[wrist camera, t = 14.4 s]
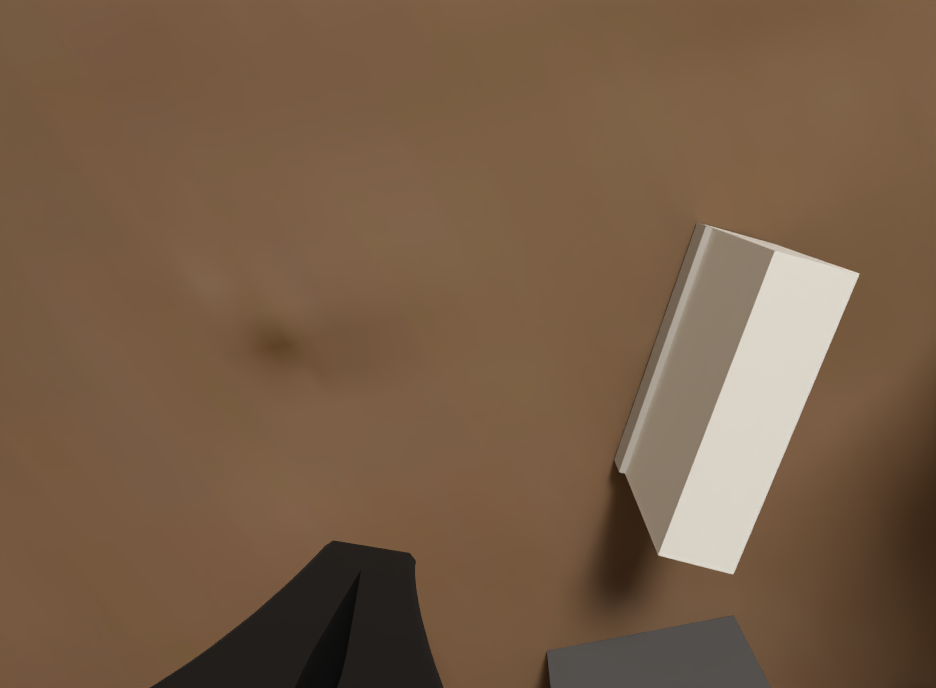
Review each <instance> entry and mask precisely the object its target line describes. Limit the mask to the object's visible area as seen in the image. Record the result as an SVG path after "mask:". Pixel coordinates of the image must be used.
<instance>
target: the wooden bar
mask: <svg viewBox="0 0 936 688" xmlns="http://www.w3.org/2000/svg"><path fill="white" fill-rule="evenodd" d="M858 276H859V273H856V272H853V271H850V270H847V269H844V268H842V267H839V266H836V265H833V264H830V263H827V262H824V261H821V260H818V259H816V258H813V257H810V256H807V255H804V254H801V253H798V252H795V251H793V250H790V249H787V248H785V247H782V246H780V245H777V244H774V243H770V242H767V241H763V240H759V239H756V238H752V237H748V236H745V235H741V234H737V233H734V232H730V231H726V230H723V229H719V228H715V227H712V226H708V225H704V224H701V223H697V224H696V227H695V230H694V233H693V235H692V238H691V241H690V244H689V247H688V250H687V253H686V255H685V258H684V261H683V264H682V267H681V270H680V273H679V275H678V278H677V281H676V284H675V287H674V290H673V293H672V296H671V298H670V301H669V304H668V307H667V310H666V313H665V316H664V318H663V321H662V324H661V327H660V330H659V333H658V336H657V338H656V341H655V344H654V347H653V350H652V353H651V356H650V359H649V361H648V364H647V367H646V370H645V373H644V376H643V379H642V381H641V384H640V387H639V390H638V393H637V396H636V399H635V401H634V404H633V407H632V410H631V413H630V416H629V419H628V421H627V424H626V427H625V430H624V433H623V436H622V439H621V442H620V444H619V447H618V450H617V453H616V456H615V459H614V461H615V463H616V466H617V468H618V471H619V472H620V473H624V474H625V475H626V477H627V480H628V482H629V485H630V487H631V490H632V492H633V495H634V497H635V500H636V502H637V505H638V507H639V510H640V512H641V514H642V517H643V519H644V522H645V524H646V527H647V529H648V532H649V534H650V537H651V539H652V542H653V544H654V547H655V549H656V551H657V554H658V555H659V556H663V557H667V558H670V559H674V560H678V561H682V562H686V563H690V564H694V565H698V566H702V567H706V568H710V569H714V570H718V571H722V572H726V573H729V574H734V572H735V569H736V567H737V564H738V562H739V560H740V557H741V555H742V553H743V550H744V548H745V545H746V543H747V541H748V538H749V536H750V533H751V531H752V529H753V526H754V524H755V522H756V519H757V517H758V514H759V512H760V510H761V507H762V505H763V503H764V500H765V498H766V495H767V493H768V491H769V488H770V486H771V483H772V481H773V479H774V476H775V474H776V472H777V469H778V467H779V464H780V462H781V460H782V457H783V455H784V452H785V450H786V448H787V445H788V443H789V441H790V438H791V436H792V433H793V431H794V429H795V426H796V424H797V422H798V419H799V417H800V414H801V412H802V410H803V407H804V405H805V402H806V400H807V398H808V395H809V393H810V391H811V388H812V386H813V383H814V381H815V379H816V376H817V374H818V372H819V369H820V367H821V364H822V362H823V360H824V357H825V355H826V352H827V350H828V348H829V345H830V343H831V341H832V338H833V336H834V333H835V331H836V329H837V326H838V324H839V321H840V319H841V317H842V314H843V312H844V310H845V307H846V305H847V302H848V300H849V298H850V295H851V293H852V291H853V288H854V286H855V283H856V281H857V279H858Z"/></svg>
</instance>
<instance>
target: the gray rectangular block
mask: <svg viewBox="0 0 936 688" xmlns="http://www.w3.org/2000/svg"><path fill="white" fill-rule="evenodd" d="M547 658H548V667H549V676H550V685H551V688H771V687H770V685H769V683H768V681H767V679H766V677H765V675H764V673H763V671H762V670H761V668H760V666H759V664H758V662H757V660H756V658H755V656H754V654H753V652H752V650H751V648H750V646H749V644H748V642H747V640H746V639H745V637H744V635H743V633H742V631H741V629H740V627H739V625H738V623H737V621H736V619H735V617H734V615H733V616H727V617H722V618H717V619H712V620H706V621H701V622H696V623H691V624H685V625H680V626H675V627H670V628H665V629H659V630H654V631H649V632H644V633H638V634H633V635H628V636H623V637H618V638H612V639H607V640H602V641H597V642H591V643H586V644H581V645H576V646H571V647H565V648H560V649H555V650H550V651H547Z"/></svg>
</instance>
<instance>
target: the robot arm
mask: <svg viewBox="0 0 936 688" xmlns="http://www.w3.org/2000/svg"><path fill="white" fill-rule="evenodd" d="M415 563H416V561H415V559H414V558H413V557H412V555H411V554H410V553H406V552H400V551H394V550H388V549H382V548H375V547H369V546H363V545H357V544H351V543H345V542H339V541H332V542H330V543H329V544H327V545H326V546H325V547H324V548H323V549H322V550H321V551H320V552H319V553H318V554H317V555H316V556H315V557H314V558H313V559H312V560H311V561H310V562H309V563H308V564H307V565H306V566H305V567H304V568H303V569H302V570H301V571H300V572H299V573H298V574H297V575H296V576H295V577H294V578H293V579H292V580H291V581H290V582H289V583H288V584H287V585H285V586H284V587H283V588H282V589H281V590H280V591H279V592H278V593H276V594H275V595H274V596H273V597H272V598H271V599H270V600H268V601H267V602H266V603H265V604H264V605H263V606H262V607H261V608H259V609H258V610H257V611H256V612H255V613H254V614H252V615H251V616H250V617H249V618H247V619H246V620H245V621H244V622H242V623H241V624H240V625H239V626H237V627H236V628H235V629H233V630H232V631H231V632H230V633H228V634H227V635H226V636H224V637H223V638H222V639H221V640H219V641H218V642H217V643H215V644H214V645H213V646H211V647H210V648H209V649H207V650H206V651H205V652H203V653H202V654H200V655H199V656H198V657H196V658H195V659H193V660H192V661H190V662H189V663H187V664H186V665H185V666H183V667H182V668H180V669H179V670H177V671H175V672H174V673H172V674H171V675H169V676H168V677H166V678H165V679H163V680H161V681H160V682H158V683H157V684H155V685H154V686H152V687H150V688H443V685H442V682H441V680H440V677H439V674H438V671H437V669H436V666H435V663H434V660H433V657H432V653H431V650H430V647H429V643H428V640H427V636H426V632H425V629H424V625H423V621H422V617H421V613H420V608H419V603H418V597H417V591H416V583H415Z"/></svg>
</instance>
